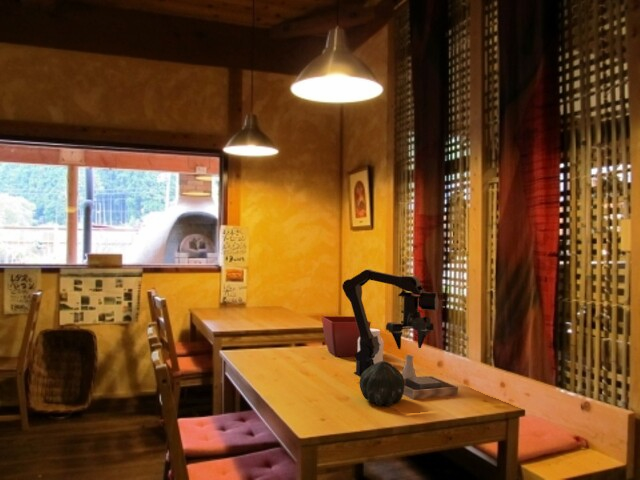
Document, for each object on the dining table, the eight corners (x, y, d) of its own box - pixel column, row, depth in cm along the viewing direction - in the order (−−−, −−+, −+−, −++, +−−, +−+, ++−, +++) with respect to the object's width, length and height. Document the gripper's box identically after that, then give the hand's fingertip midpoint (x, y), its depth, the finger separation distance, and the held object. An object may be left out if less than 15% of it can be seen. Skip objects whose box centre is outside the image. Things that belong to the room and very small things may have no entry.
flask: (419, 380, 210) (420, 354, 210) (416, 384, 203) (417, 358, 203) (401, 378, 212) (401, 353, 212) (397, 382, 205) (398, 356, 205)
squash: (379, 377, 190) (366, 349, 183) (417, 386, 181) (404, 358, 173) (361, 409, 182) (345, 382, 174) (399, 421, 173) (384, 393, 165)
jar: (385, 365, 233) (386, 331, 234) (365, 367, 230) (367, 332, 230) (373, 360, 244) (374, 327, 244) (354, 361, 241) (355, 328, 241)
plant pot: (370, 357, 250) (371, 321, 250) (331, 358, 245) (332, 322, 245) (356, 349, 268) (357, 316, 269) (320, 350, 263) (321, 316, 264)
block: (419, 395, 185) (419, 384, 185) (405, 388, 194) (405, 377, 194) (440, 393, 189) (441, 382, 189) (426, 387, 197) (426, 376, 197)
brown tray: (413, 401, 180) (413, 390, 180) (389, 389, 195) (390, 379, 195) (457, 397, 187) (457, 387, 187) (431, 385, 202) (431, 376, 202)
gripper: (401, 311, 197) (399, 353, 197) (443, 310, 204) (441, 351, 204) (385, 307, 207) (384, 348, 207) (426, 307, 214) (425, 346, 214)
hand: (409, 348), depth 208 cm, fingers open, 9 cm apart
